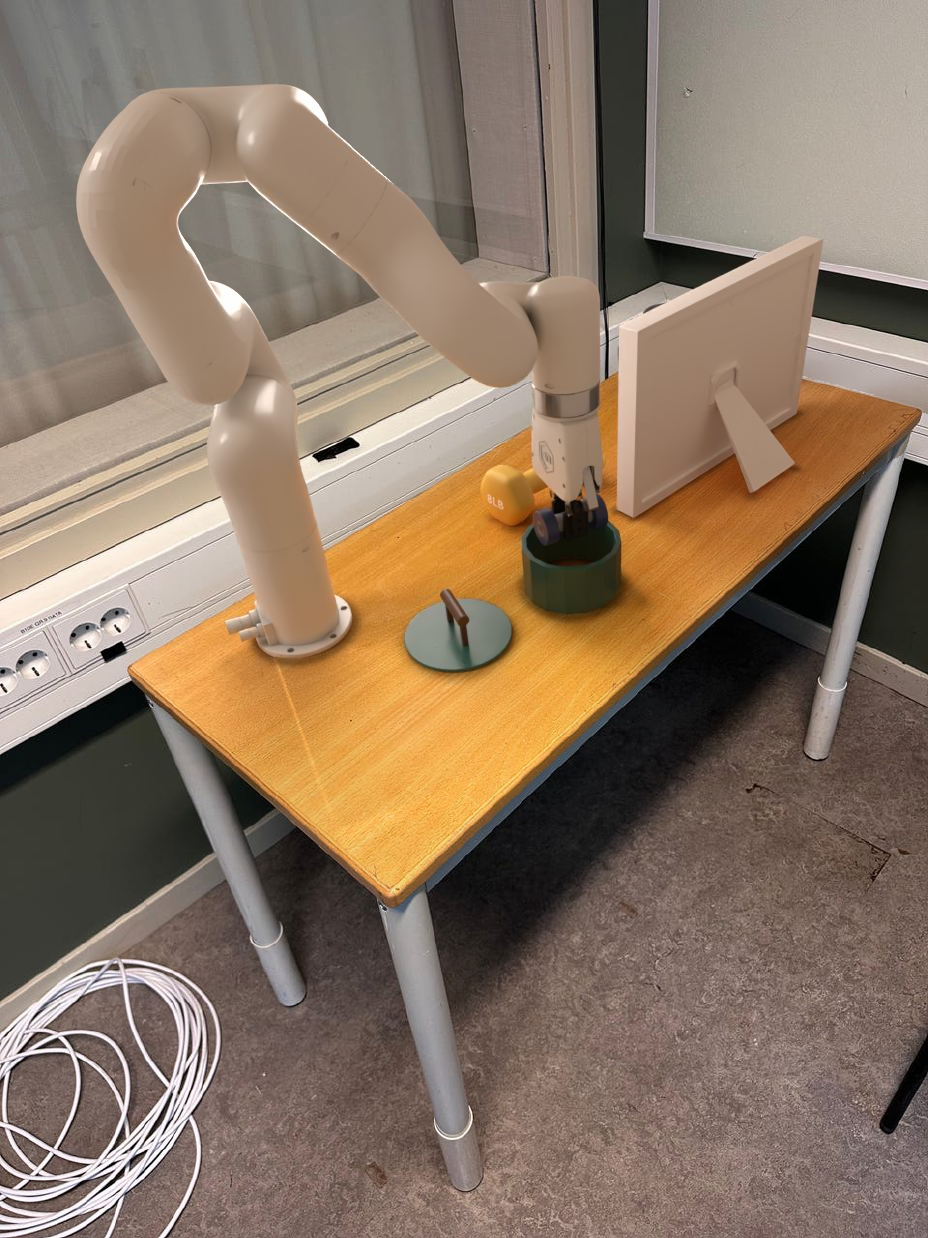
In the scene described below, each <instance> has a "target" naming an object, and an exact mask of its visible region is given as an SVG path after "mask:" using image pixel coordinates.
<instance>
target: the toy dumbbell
mask: <svg viewBox="0 0 928 1238" xmlns="http://www.w3.org/2000/svg"><path fill="white" fill-rule="evenodd" d="M596 497H597V501H598V509H596V510H593V511H590V512H588V519H589V528H590V529H591V530H596V529H600V528H603V527H605V526H606V525H607V524H608V521H609V511H608V508H607V505H606V501H605V499H603V497H602V495H600V494H599V493H596ZM565 512H566V511H565ZM563 513H564V512H562V513H559V514H556V515H554V513H553V512H552V508H551V509H550V508H549V507H544V508H542V509H539V510H535V511H534V512H533V514H532V524H533V525H534V529H535V532H536V535H537V537H538V539H539V541H540V542H541V543H542V544H543V545H544V546H547V545H550V544H553V543H557V542H558V541H559V539H560V532H561V531H563Z"/></svg>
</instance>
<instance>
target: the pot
mask: <svg viewBox="0 0 928 1238" xmlns="http://www.w3.org/2000/svg"><path fill="white" fill-rule="evenodd" d="M622 543H623V542H622V537H621V533H620V530H619V529H618V528H617V527H616V526H615V525H614V524H613V523H612V522H611V521H610V520H608V524H607V525H606V526H605V527H603V528H600V529H596V530H591V529H590V528H589V533H588V535H586V536H583V537H580V538H577V539H574V540H571V541H566V540H565V539H564V537H563V531H561V532H560V539H559V541H558V542H557V543H553V544H550V545H547V546H544V545H543V544H542V543H541V542H540V541H539V539H538V537H537V535H536V532H535V529H534V525H533V523H532V524H529V526H528V527H527V528H526V529H525V531H524V533H523V534H522V535H521V538H520V544H521V545H520V547H521V561H522V572H523V574H522V575H523V576H522V577H523V589H524V594H525V595H526V597H527V598H528V599H529V601H531V603H532V604H534V605H536V606H538V607H539V608H541V609H543V610H545V611H547V612H551V613H555V614H561V615H578V614H579V615H581V614H587V613H590V612H593V611H596V610H599V609H601V608H604V607H605V606H607V605H608V604H609V603H610V602H612V601H614V599H615V598H617V595H618V593H619V591H620V590H621V587H622ZM566 559H582V560H587V561H592V562H590V563H587V564H583V565H572V566H570V565H569V566H563V565H556V564H550V563H553V562H556V561H558V560H566Z"/></svg>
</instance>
